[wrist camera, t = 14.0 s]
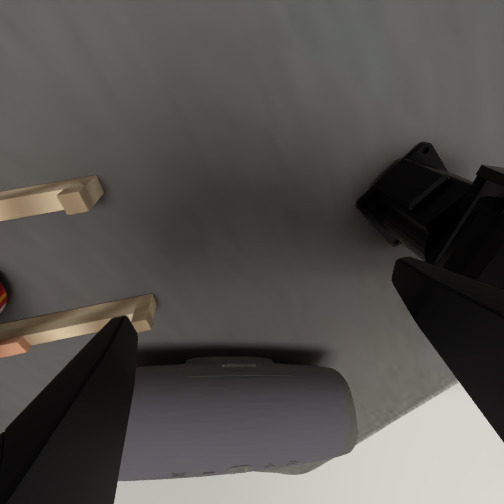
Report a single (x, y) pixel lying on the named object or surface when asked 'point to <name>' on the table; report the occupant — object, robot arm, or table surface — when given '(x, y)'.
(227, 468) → the bluetooth speaker
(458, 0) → the table surface
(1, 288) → the soda can
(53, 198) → the wooden can holder
